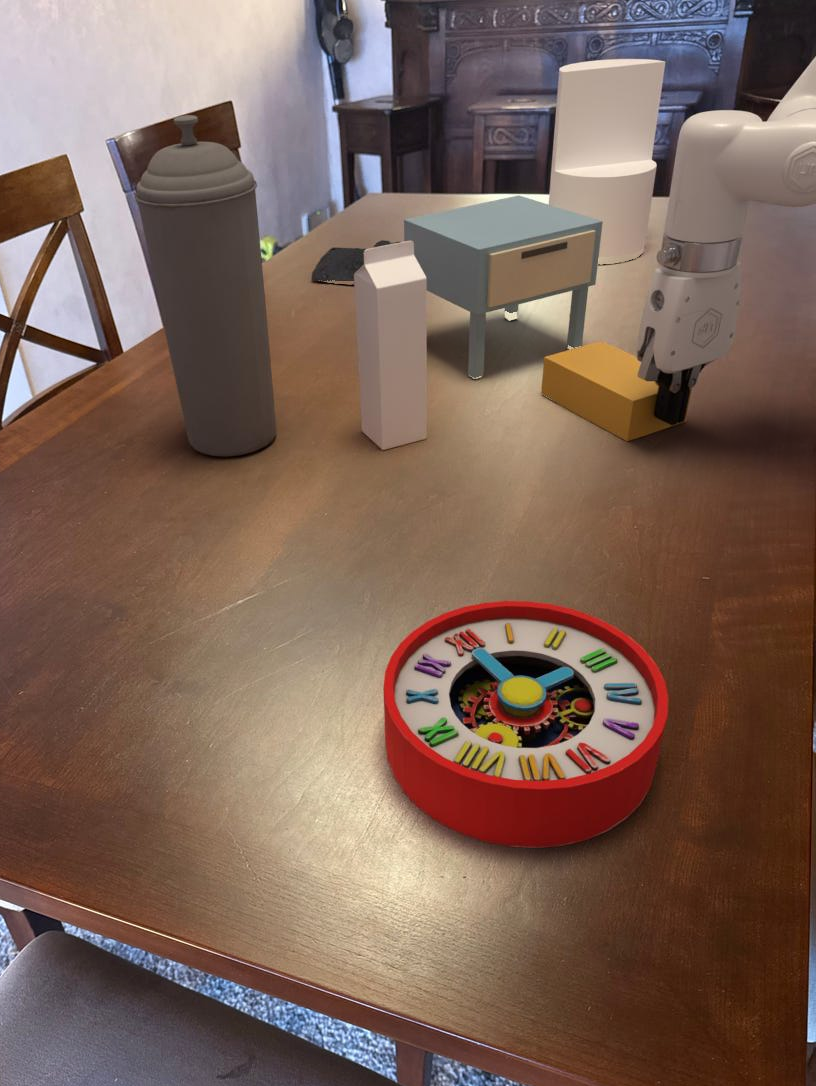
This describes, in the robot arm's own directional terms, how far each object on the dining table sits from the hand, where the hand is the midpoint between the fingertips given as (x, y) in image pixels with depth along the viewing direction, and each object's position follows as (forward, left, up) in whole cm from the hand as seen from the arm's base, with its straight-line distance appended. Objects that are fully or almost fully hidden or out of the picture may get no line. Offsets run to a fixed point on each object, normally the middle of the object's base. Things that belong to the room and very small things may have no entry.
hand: (668, 419), depth 103 cm
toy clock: (-17, +51, -2) cm, 54 cm away
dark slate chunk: (+70, -26, -2) cm, 75 cm away
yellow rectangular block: (+9, -3, -2) cm, 10 cm away
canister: (+40, +32, -2) cm, 52 cm away
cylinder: (+46, -57, -2) cm, 73 cm away
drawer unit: (+33, -10, -2) cm, 35 cm away
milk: (+25, +19, -2) cm, 32 cm away
